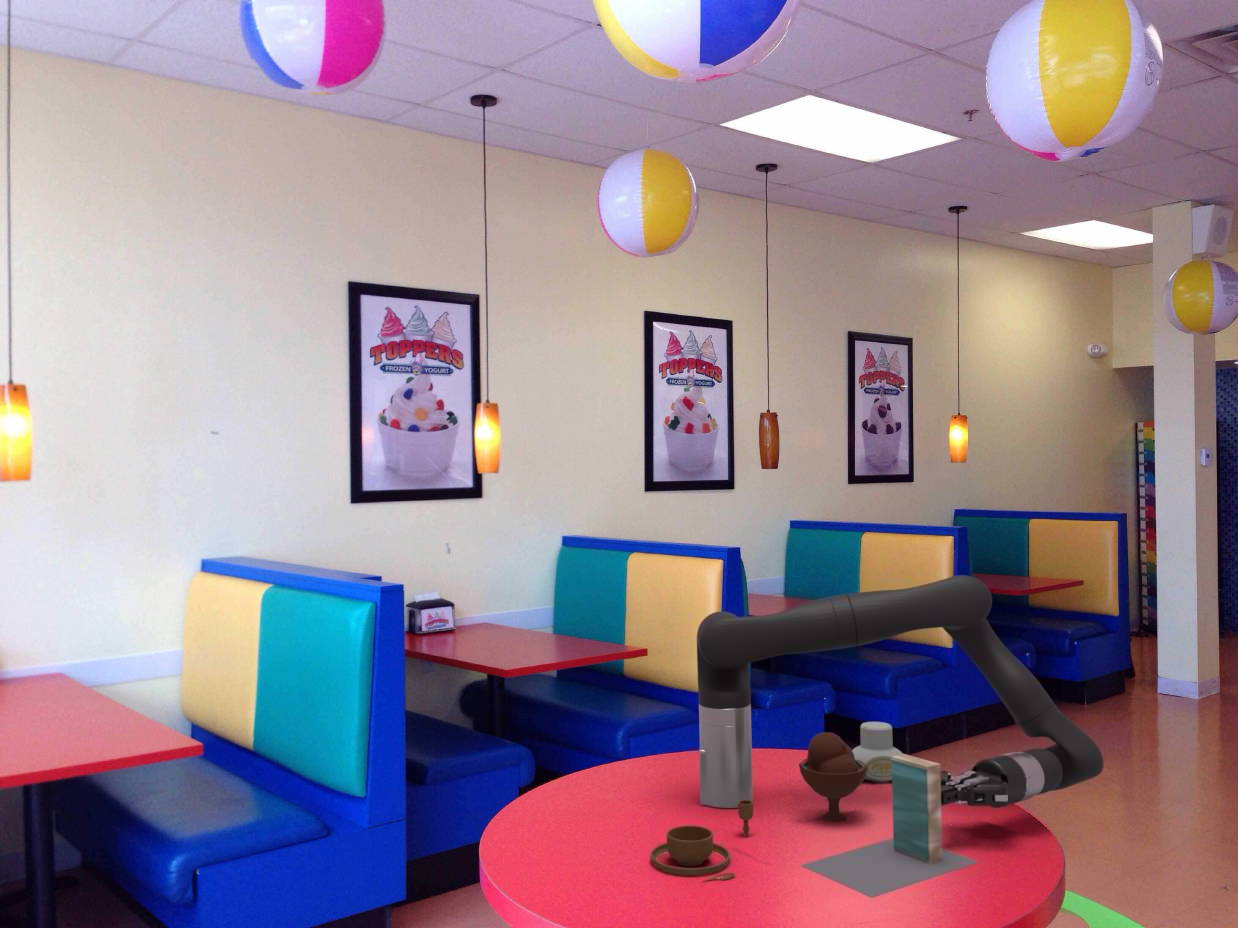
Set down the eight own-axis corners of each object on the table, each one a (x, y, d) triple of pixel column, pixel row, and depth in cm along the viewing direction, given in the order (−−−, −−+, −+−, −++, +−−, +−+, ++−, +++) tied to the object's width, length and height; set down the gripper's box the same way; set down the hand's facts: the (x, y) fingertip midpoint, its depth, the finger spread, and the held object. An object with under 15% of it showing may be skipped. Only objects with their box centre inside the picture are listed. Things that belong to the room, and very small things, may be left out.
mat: (871, 903, 137) (871, 897, 137) (800, 870, 149) (800, 864, 149) (979, 866, 149) (978, 861, 149) (904, 839, 161) (904, 834, 161)
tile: (928, 863, 149) (926, 767, 149) (892, 849, 154) (890, 756, 155) (942, 859, 150) (940, 763, 150) (905, 845, 156) (903, 753, 156)
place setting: (632, 850, 160) (632, 812, 160) (748, 833, 167) (748, 797, 167) (674, 892, 144) (673, 850, 144) (801, 872, 150) (800, 832, 150)
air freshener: (899, 770, 198) (898, 719, 199) (912, 783, 190) (911, 729, 190) (843, 772, 198) (842, 720, 198) (854, 784, 190) (853, 730, 190)
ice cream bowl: (870, 834, 163) (867, 740, 164) (799, 831, 166) (797, 738, 166) (867, 813, 174) (865, 724, 174) (800, 810, 176) (798, 722, 176)
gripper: (973, 746, 170) (900, 763, 160) (1044, 764, 159) (970, 783, 149) (974, 791, 170) (901, 811, 160) (1045, 812, 159) (971, 835, 149)
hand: (935, 797), depth 155 cm, fingers closed
